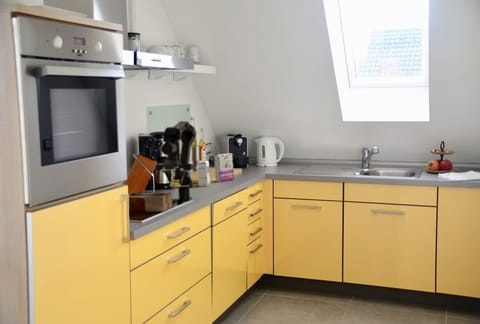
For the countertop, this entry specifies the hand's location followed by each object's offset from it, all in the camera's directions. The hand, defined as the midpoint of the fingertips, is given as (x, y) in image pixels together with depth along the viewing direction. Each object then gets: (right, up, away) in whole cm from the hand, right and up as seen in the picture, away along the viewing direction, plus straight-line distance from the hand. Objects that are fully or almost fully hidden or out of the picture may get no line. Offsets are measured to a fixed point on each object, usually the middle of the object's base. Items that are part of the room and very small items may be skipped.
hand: (175, 184), depth 292 cm
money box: (-7, -11, -8) cm, 16 cm away
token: (0, -1, 0) cm, 1 cm away
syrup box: (+11, -3, +58) cm, 59 cm away
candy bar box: (+22, -1, +74) cm, 77 cm away
